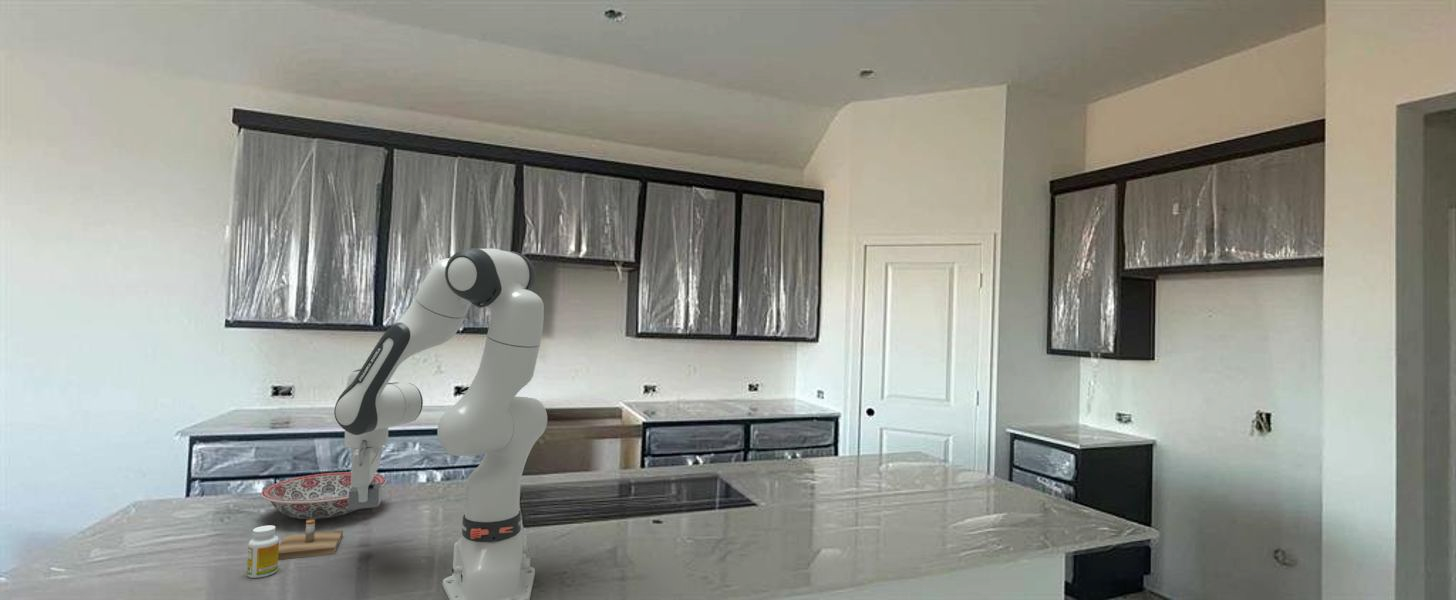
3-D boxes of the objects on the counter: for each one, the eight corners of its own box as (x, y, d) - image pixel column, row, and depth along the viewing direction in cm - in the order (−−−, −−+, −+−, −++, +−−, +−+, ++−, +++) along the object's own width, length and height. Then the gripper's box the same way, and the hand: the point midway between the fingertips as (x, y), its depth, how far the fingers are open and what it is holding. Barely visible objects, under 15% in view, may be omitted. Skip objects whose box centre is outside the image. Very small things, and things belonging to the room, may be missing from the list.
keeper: (334, 553, 149) (335, 526, 149) (272, 560, 144) (273, 531, 144) (342, 536, 160) (343, 510, 160) (285, 541, 155) (286, 515, 155)
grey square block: (378, 506, 146) (378, 489, 146) (348, 509, 144) (348, 491, 144) (381, 499, 151) (381, 482, 152) (352, 502, 149) (352, 485, 149)
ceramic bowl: (377, 527, 167) (378, 496, 167) (243, 538, 157) (244, 505, 157) (391, 495, 194) (392, 469, 195) (277, 503, 184) (278, 475, 184)
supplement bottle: (283, 568, 140) (285, 524, 140) (266, 578, 135) (268, 532, 135) (258, 567, 140) (260, 523, 140) (240, 578, 135) (242, 532, 135)
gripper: (376, 444, 140) (375, 507, 139) (386, 429, 158) (385, 484, 158) (343, 446, 137) (342, 511, 137) (357, 430, 156) (356, 487, 156)
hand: (365, 497), depth 148 cm, fingers closed on grey square block, 6 cm apart
